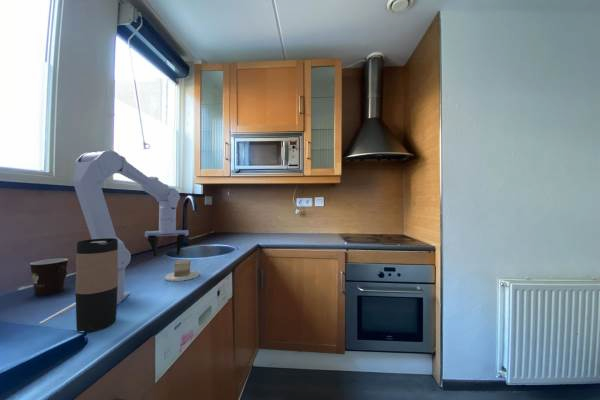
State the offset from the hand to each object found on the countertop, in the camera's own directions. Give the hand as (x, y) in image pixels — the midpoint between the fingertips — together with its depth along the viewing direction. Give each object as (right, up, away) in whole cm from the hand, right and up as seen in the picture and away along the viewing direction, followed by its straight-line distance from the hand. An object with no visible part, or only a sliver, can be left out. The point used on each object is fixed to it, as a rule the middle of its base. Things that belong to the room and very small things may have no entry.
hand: (167, 255), depth 92 cm
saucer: (+4, -9, +4) cm, 11 cm away
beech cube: (+4, -9, +4) cm, 10 cm away
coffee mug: (-30, -9, -14) cm, 35 cm away
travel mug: (+3, -9, -35) cm, 36 cm away
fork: (-13, -10, -24) cm, 29 cm away
